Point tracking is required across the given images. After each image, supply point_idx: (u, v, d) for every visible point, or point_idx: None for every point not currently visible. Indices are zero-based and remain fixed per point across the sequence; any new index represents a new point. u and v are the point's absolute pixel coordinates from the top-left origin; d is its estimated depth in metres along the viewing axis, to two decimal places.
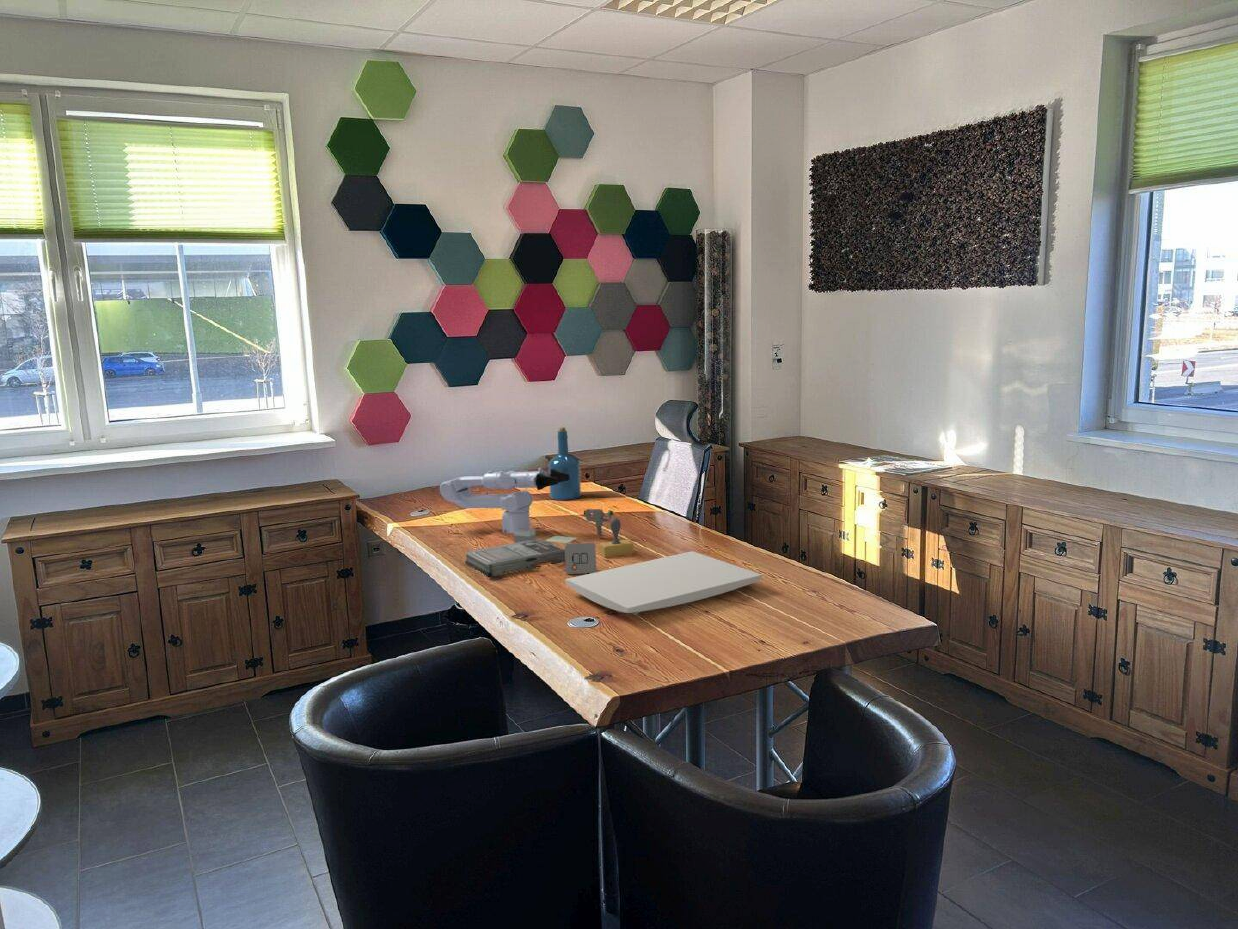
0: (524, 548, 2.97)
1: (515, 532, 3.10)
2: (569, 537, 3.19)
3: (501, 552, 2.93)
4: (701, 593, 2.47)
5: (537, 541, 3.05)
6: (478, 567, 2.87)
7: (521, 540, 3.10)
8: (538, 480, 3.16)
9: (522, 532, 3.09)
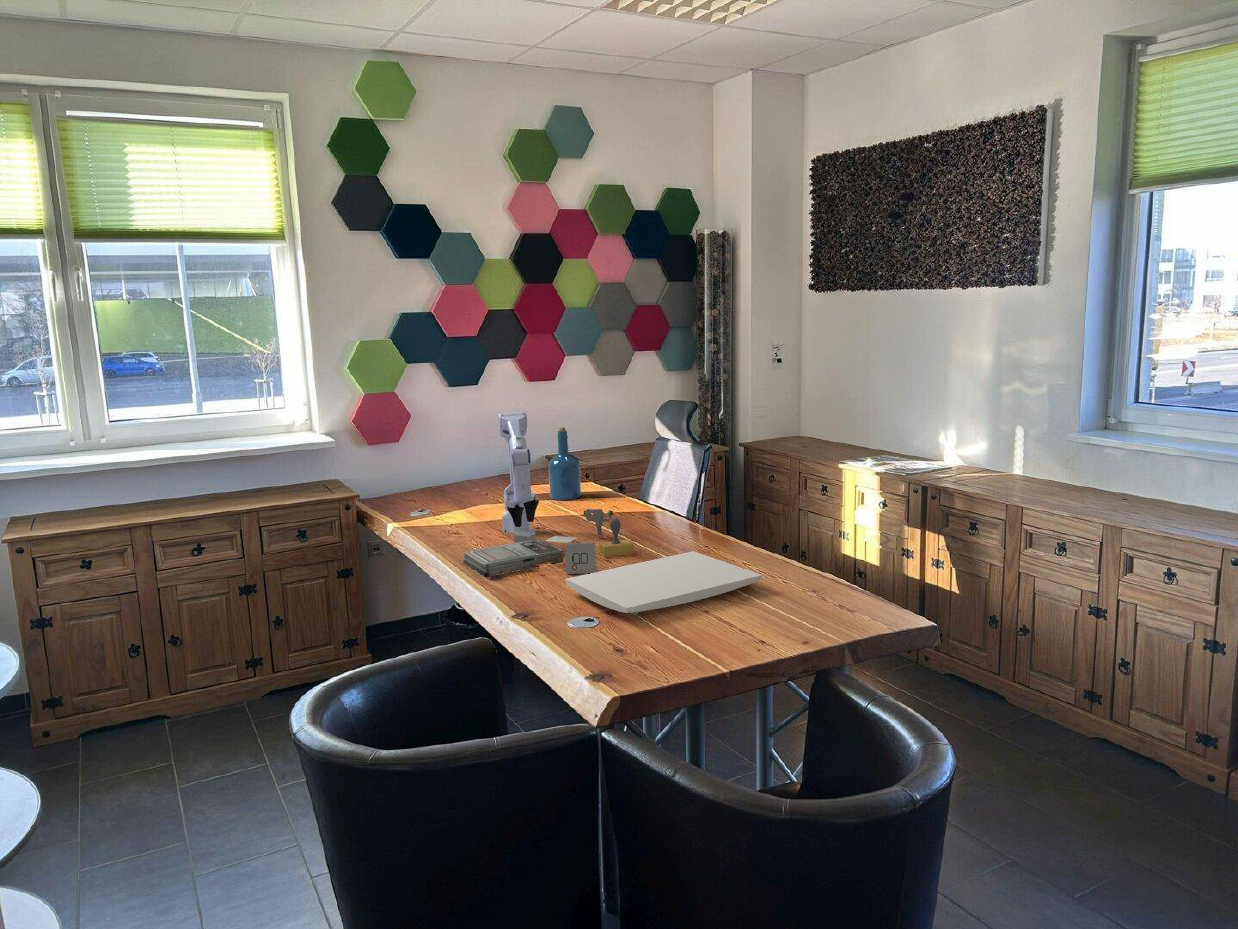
0: (522, 548, 2.97)
1: (515, 532, 3.10)
2: (569, 537, 3.19)
3: (499, 552, 2.94)
4: (701, 593, 2.47)
5: (536, 541, 3.05)
6: (475, 567, 2.87)
7: (521, 540, 3.10)
8: (515, 509, 3.04)
9: (522, 532, 3.09)
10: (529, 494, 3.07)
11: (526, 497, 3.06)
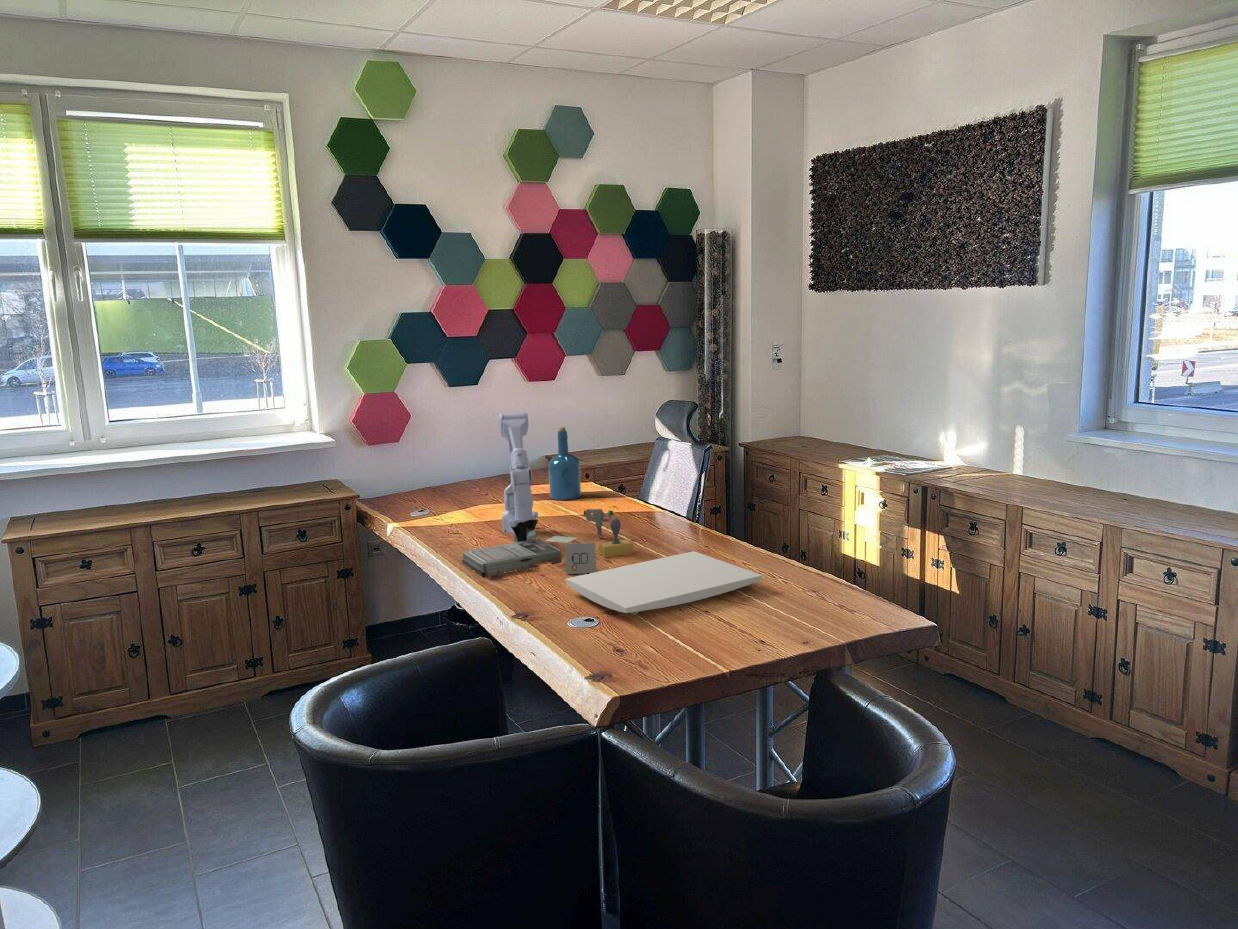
0: (521, 548, 2.97)
1: None
2: (569, 537, 3.19)
3: (497, 552, 2.94)
4: (701, 593, 2.47)
5: (535, 541, 3.05)
6: (473, 567, 2.88)
7: None
8: (519, 527, 3.07)
9: None
10: (530, 513, 3.08)
11: (527, 516, 3.07)
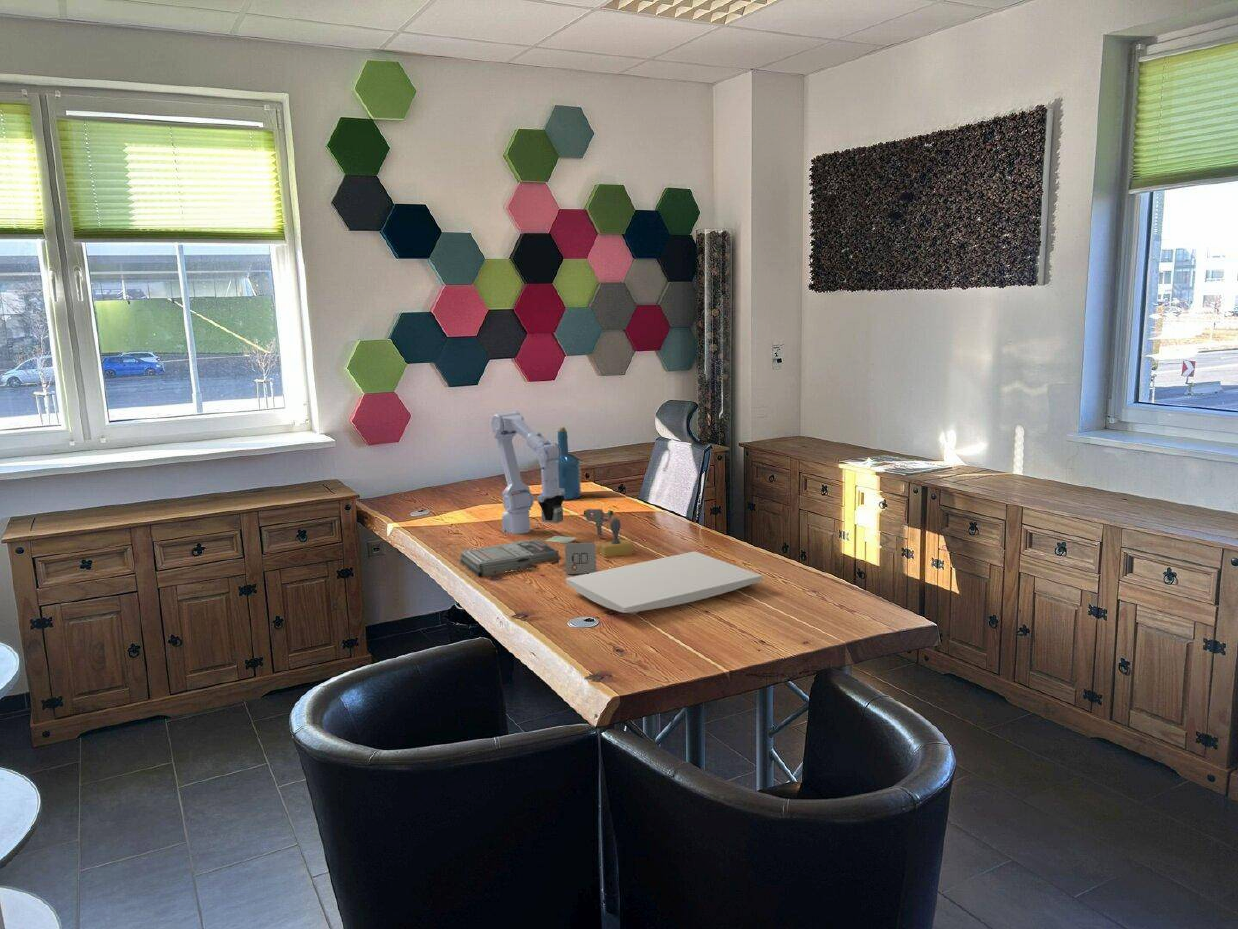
0: (519, 548, 2.97)
1: None
2: (569, 537, 3.19)
3: (495, 552, 2.94)
4: (700, 593, 2.47)
5: (534, 541, 3.05)
6: (470, 566, 2.88)
7: None
8: (546, 502, 3.09)
9: None
10: (557, 489, 3.11)
11: (554, 492, 3.10)
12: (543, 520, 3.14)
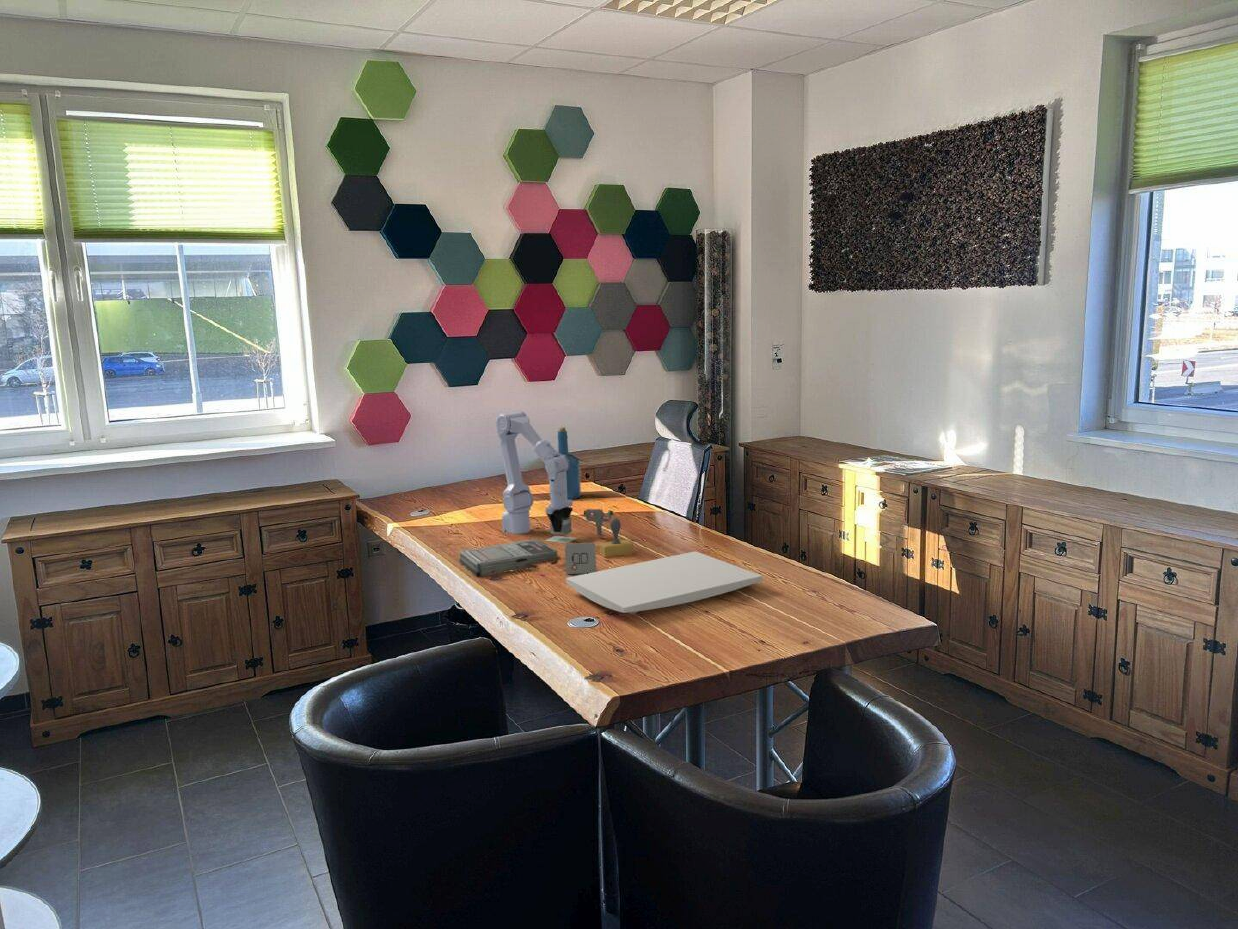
0: (518, 548, 2.97)
1: None
2: (569, 537, 3.19)
3: (494, 552, 2.94)
4: (700, 594, 2.47)
5: (533, 541, 3.05)
6: (469, 566, 2.88)
7: None
8: (555, 514, 3.11)
9: None
10: (566, 501, 3.13)
11: (563, 504, 3.12)
12: (552, 532, 3.15)
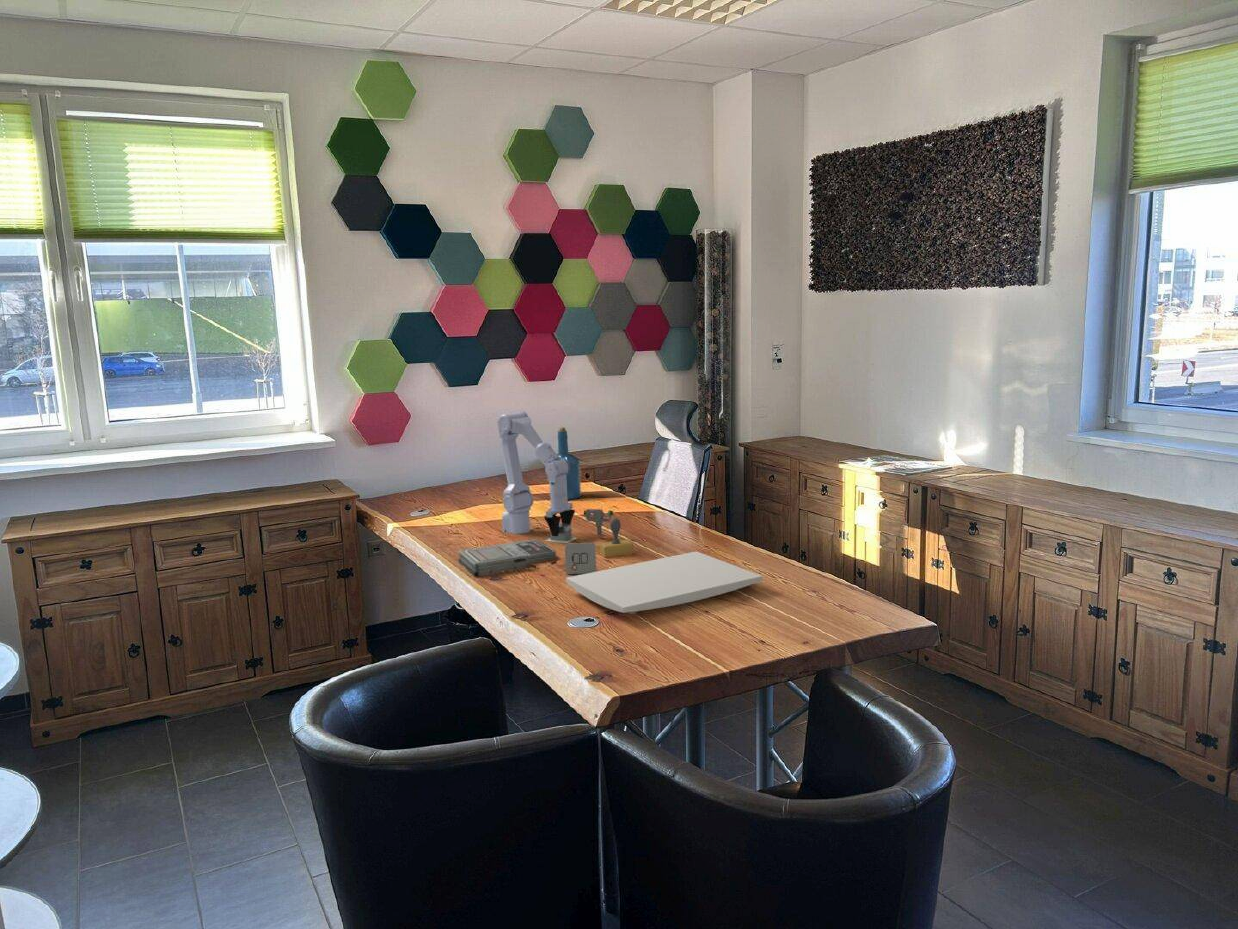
0: (516, 548, 2.97)
1: None
2: None
3: (492, 552, 2.94)
4: (699, 594, 2.47)
5: (532, 542, 3.05)
6: (467, 566, 2.88)
7: None
8: (552, 518, 3.10)
9: None
10: (566, 504, 3.13)
11: (563, 507, 3.12)
12: (552, 538, 3.16)
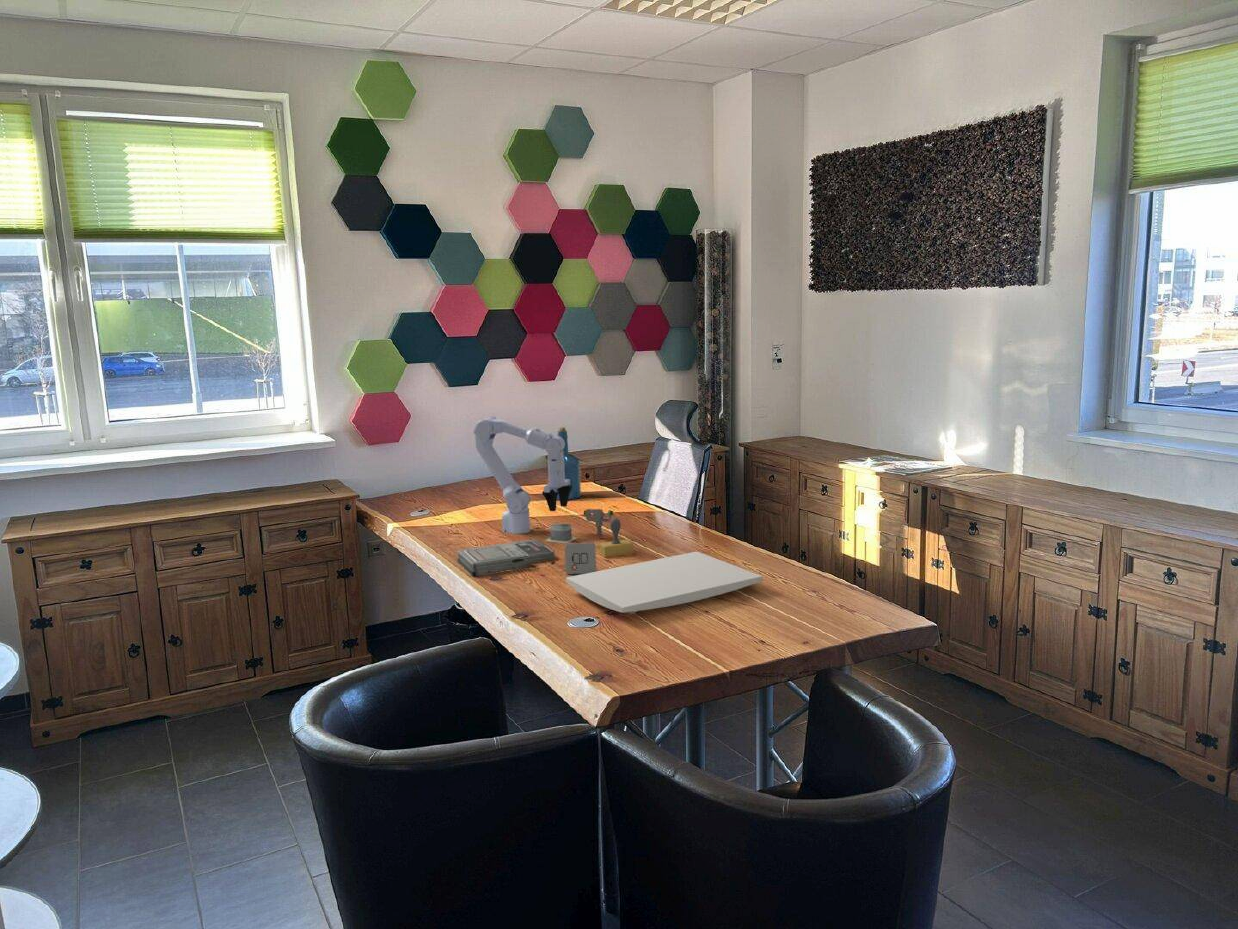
0: (515, 548, 2.97)
1: (551, 527, 3.15)
2: None
3: (491, 552, 2.94)
4: (699, 594, 2.47)
5: (532, 542, 3.05)
6: (466, 566, 2.89)
7: (557, 535, 3.15)
8: (550, 493, 3.20)
9: (558, 527, 3.14)
10: (563, 480, 3.23)
11: (560, 483, 3.22)
12: (552, 538, 3.16)
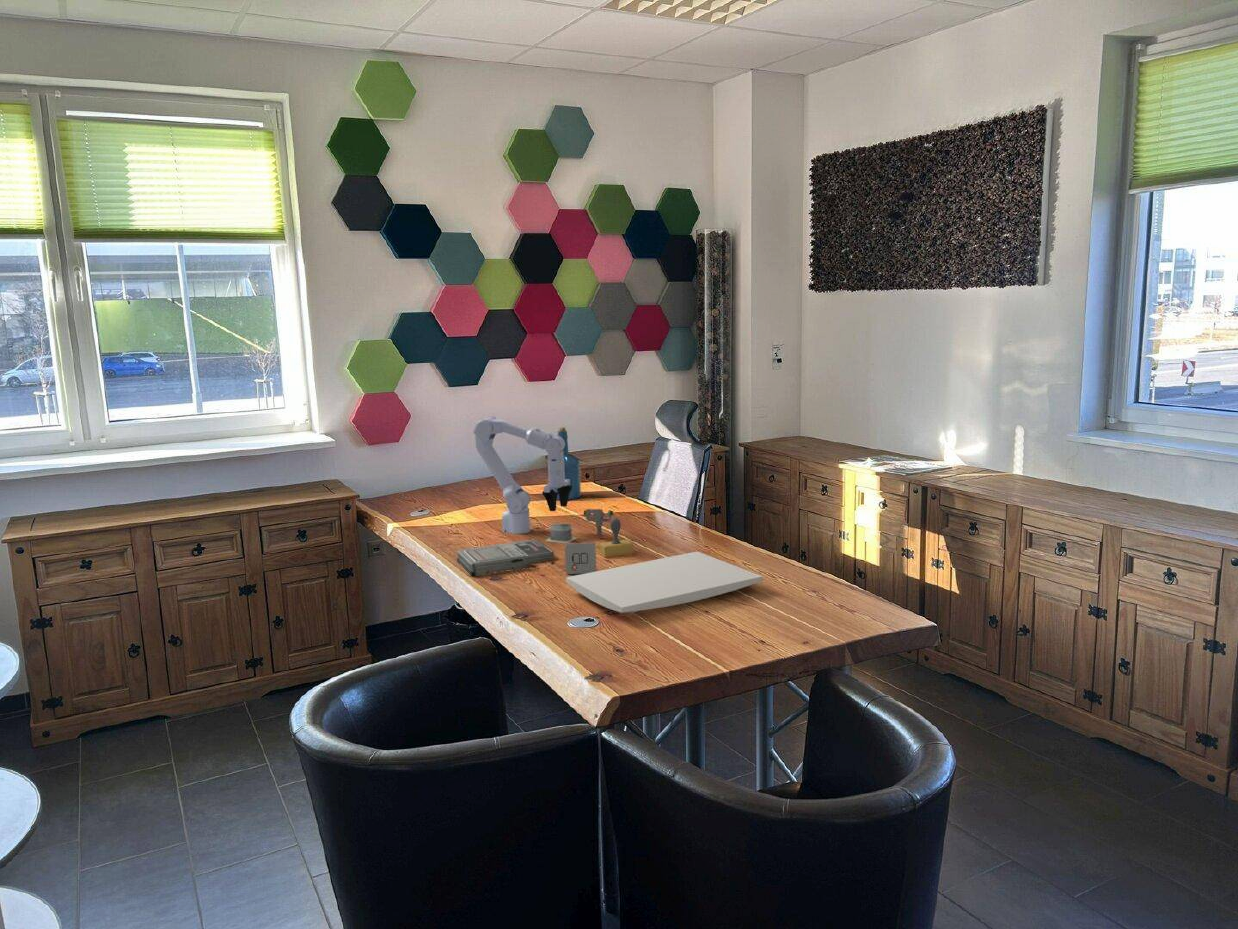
0: (515, 549, 2.97)
1: (551, 527, 3.15)
2: None
3: (491, 552, 2.94)
4: (699, 594, 2.47)
5: (531, 542, 3.05)
6: (465, 566, 2.89)
7: (557, 535, 3.15)
8: (550, 493, 3.20)
9: (558, 527, 3.14)
10: (563, 480, 3.23)
11: (560, 483, 3.22)
12: (552, 538, 3.16)
